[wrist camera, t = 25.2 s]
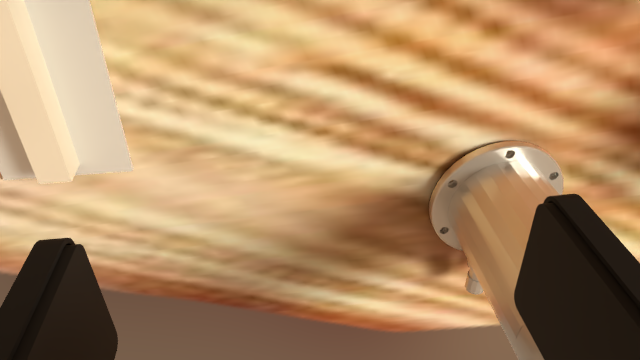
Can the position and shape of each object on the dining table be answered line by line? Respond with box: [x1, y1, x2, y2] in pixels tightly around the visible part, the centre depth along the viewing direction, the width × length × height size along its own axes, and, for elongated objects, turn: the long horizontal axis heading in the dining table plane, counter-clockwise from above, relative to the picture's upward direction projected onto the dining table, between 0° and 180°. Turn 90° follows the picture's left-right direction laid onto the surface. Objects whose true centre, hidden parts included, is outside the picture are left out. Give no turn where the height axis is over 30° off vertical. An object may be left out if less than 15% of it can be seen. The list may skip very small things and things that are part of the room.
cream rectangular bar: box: [0, 0, 80, 184], centre depth 33 cm, size 20×4×4 cm, turn 1°
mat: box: [0, 0, 134, 180], centre depth 36 cm, size 20×10×1 cm, turn 0°
